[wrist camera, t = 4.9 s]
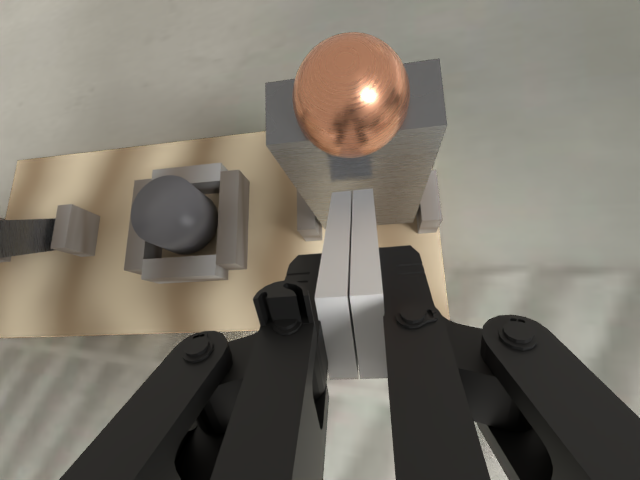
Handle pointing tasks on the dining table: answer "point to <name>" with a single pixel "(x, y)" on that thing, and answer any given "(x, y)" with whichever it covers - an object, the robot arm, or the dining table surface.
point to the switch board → (160, 264)
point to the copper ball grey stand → (358, 125)
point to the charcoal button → (174, 215)
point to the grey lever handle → (25, 236)
